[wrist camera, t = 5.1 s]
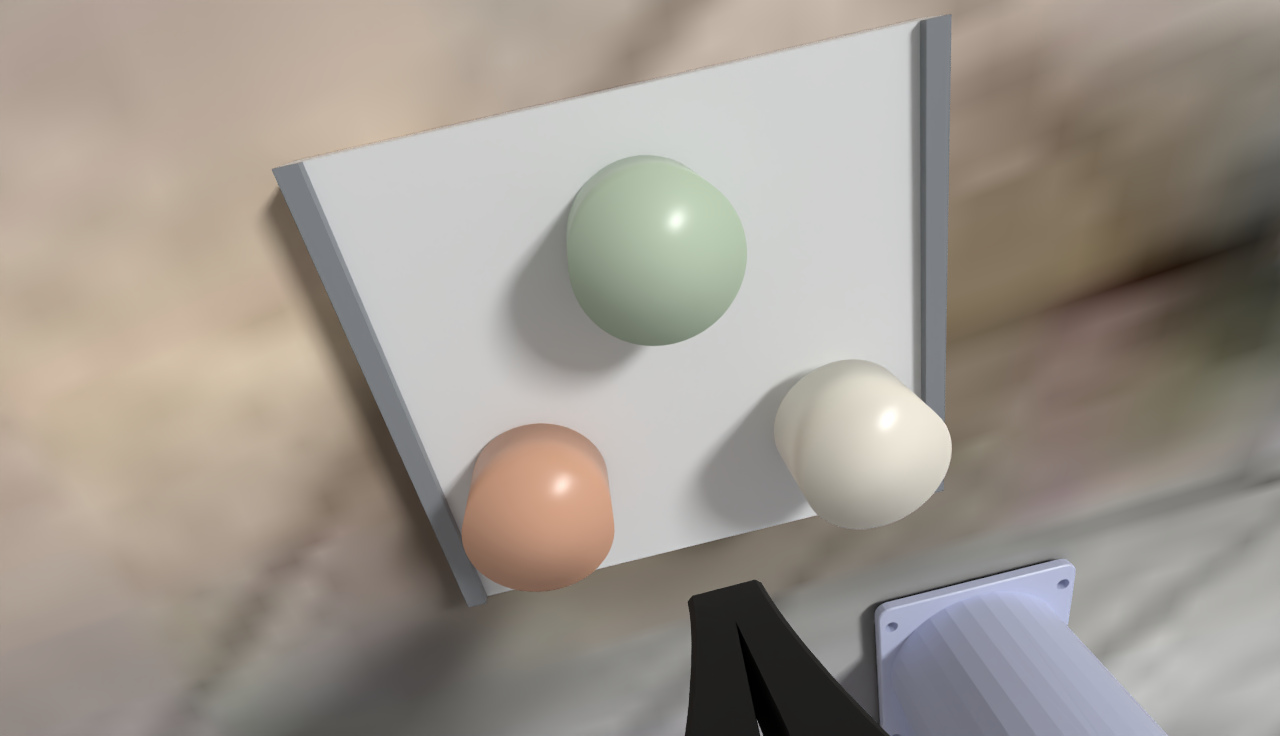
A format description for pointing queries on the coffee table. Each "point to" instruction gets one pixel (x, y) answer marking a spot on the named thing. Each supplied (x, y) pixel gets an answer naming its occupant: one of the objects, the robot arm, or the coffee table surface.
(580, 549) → the terracotta button
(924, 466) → the cream button
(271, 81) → the coffee table surface
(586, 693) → the coffee table surface
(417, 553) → the coffee table surface
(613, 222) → the sage button
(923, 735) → the robot arm
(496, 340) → the panel
